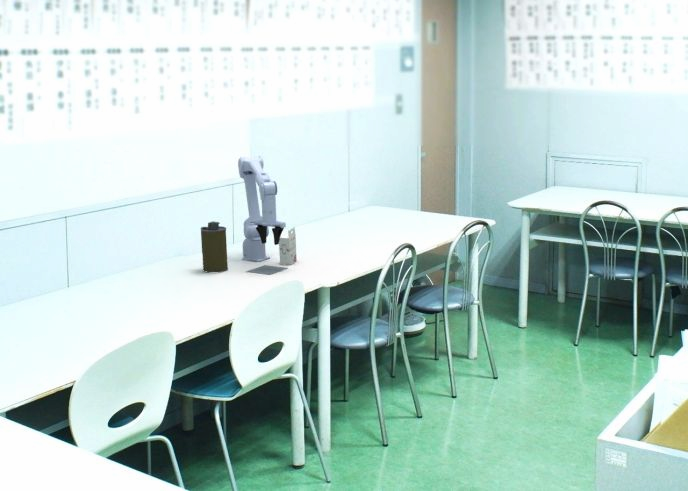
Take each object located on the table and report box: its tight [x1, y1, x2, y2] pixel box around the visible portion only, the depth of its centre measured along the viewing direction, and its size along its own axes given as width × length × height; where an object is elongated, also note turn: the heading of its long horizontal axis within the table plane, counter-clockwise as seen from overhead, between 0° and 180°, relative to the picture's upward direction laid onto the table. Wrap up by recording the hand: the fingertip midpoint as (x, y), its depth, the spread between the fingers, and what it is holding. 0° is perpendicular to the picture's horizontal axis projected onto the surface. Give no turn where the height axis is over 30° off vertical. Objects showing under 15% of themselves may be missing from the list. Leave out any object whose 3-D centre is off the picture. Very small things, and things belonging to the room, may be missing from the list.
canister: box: [200, 221, 229, 273], centre depth 405 cm, size 11×10×20 cm
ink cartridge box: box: [278, 227, 297, 266], centre depth 416 cm, size 9×5×15 cm, turn 165°
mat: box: [245, 264, 289, 276], centre depth 405 cm, size 12×13×1 cm
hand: (270, 243), depth 405 cm, fingers open, 6 cm apart
